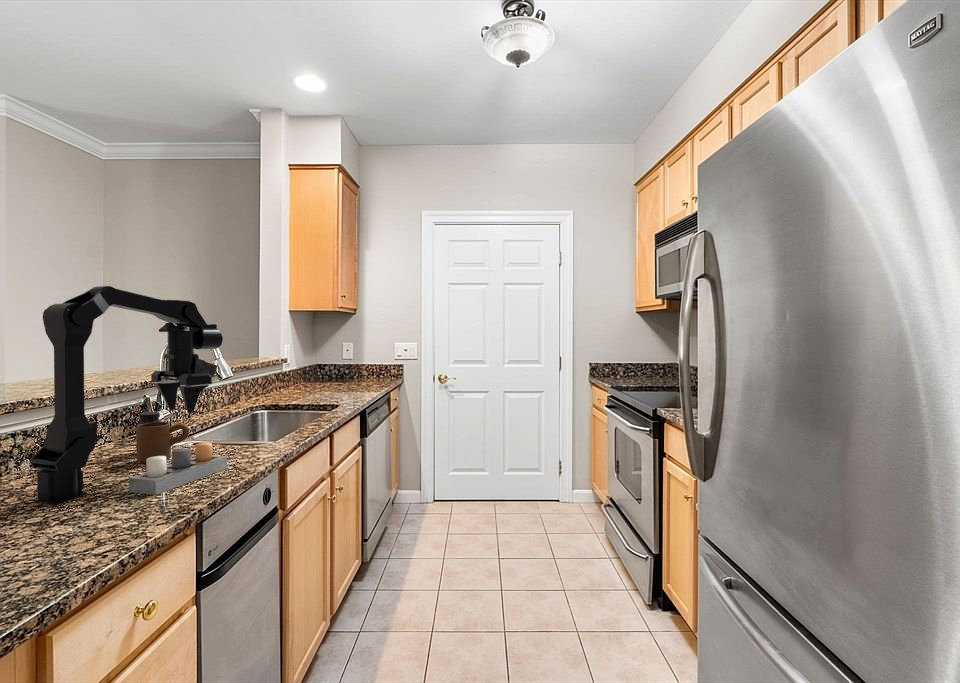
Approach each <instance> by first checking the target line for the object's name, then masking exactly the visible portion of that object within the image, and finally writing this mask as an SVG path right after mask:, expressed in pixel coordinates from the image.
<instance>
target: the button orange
mask: <svg viewBox="0 0 960 683" xmlns="http://www.w3.org/2000/svg"><path fill="white" fill-rule="evenodd" d="M194 447H195V448H194V449H195V451H194V453H195V456H194V457H195V461H197V462H206V461H209V460H212V459H213V457H212V455H213V443H212V442H200V443H197V444H195V445H194Z"/></svg>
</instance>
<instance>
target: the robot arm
mask: <svg viewBox="0 0 960 683" xmlns="http://www.w3.org/2000/svg"><path fill="white" fill-rule="evenodd" d="M110 307H113V308H119V309H123V310H129V311H132V312H138V313H143V314H148V315H152V316H155V318H157V319H158V320H161V321H164V322H165V324H164V325H163V326H162V327H160V328H159V329H158V332H159V333H167V353H164V354H163V355H164V356H163V357H164V359H167V369H163V370H155V371H153V372H152V373H151V374H150V377H151V378H150V381H151V383H154V386H155V387H156V389H157V390H158V392H159V393H160V395H161V397H162V399H163V400H164V402H165V404H166V406H167V407H168V409H169V410H170V411H175V409H176V406H177V398H178V389H179V392H180V394H181V397H182V400H183V403H184V406H185V409H186V411H187V414H193V413H194V412H195V410H196V406H197V402H198V400H199V397H200V394H201V393H202V391H204V390H205V389H206V388H209V385H211V384H213V378H214V377H215V376H216V373H217V370H218V367H219V366H218V365H217V364H215V363H210V362H207V361H205V360H204V359H201V358H199V355H198V353H195V350H216V349H219V348H220V347H221V346H222V344H223V340H224V339H223V334H222V332H221V330H219V329H218V326H217V324H216V323H207V322H206V320H205V319H204V317H203V316H202V314H201V313H200V311H199V310H198V307H197V305H196V303H195V302H193V301H191V300H187V299H186V300H185V299H184V300H182V299H179V300H178V299H162V298H158V297H157V298H156V297H153V296H149V295H146V294H145V295H144V294H139V293H135V292H132V291H128V290H124V289H119V288H116V287H114V286H111V285H101V286H99V285H98V286H94V287H92V288H90V289H89V290H87V291H85V292H84V293H82V294H78V295H77V296H74V297H71V298H69V299H67V300H65V301H63V302H62V303H54V304H51V305H48V307H46V309H44V311H43V312H42V322H43V327H44V332H45V334H46V336H47V337H48V339H49V341H50V343H51V344H52V346H53V370H54V371H53V373H54V374H53V378H54V379H53V380H54V381H53V382H54V385H53V386H54V388H53V390H54V398H53V399H54V416H53V419H52V420H51V422H50V423H49V425H48V427H47V429H46V433H45V439H44V445H43V446H42V447H41V448H40V449H39V450H37V452H36V453H35V454H34V455H32V457H31V458H30V459H29V464H30V465H31V467H32V469H34V470H37V471H36V488H37V490H36V492H37V494H36V495H37V497H35V498H31V502H32V503H39V504H40V503H41V504H49V505H50V504H51V505H57V504H60V503H64V502H67V501H69V500H73V499H76V498H79V497H82V496H87V494H88V491H85V490H84V471H83V470H82V468H85V467H86V466H87V463H88V460H89V459H90V458H89V457H90V455H91V453H92V452H94V450H95V448H96V442H99V438H98V427H99V425H98V422H96V421H89V420H88V418H87V416H86V414H85V409H86V408H85V404H86V403H85V346H86V344H87V342H88V341H89V339H90V336H91V335H92V331H93V327H94V321H95V320H96V319H97V318H100V317H101V316H102V315H103V314H105V313H106V311H107V310H108V309H109V308H110Z"/></svg>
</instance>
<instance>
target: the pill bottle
mask: <svg viewBox="0 0 960 683" xmlns="http://www.w3.org/2000/svg"><path fill="white" fill-rule="evenodd" d="M160 417H161V414H160V412H159V411H149V412H148V411H146V412H142V413H139V419H140V421H139V422H138V423H137V424H136V427H137V426H138V425H140V424H145V423H153V422H163V421H162V420H160Z"/></svg>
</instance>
